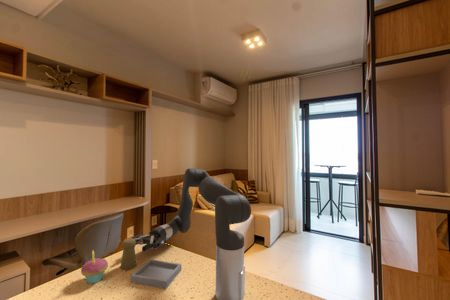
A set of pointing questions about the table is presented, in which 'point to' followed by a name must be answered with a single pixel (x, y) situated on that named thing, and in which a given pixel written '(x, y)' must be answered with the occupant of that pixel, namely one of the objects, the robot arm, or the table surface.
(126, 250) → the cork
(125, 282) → the table surface
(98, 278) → the cupcake
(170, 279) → the gray tray
